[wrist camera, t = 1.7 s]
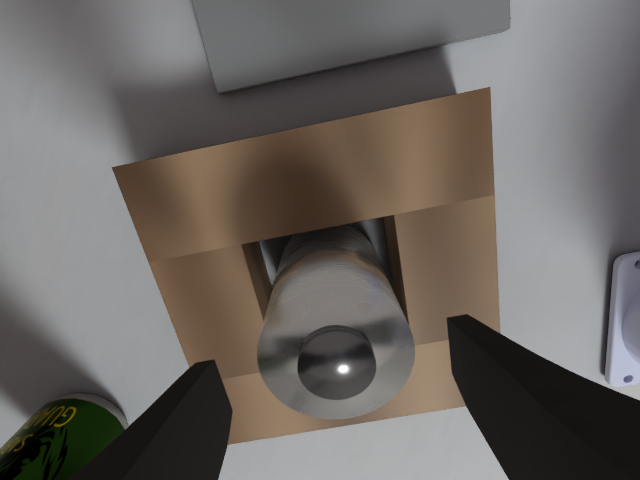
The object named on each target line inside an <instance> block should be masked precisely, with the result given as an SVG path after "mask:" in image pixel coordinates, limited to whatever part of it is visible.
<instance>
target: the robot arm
mask: <svg viewBox="0 0 640 480" xmlns="http://www.w3.org/2000/svg"><path fill="white" fill-rule="evenodd" d="M637 261H638V263H637V264H636V265H635V263H636V262H637ZM447 328H448V339H449V349H450V360H451V370H452V375H453V377H454V380H455V382H456V384H457V387H458V389H459V391H460V393H461V396H462V398H463V400H464V402H465V405H466V406H467V408H468V410H469V412H470V414H471V415H472V417H473V419H474V420H475V422H476V424H477V426H478V427H479V429H480V431H481V433H482V434H483V436H484V438H485V439H486V441H487V443H488V444H489V446H490V448H491V450H492V451H493V453H494V455H495V456H496V458H497V460H498V462H499V463H500V465H501V467H502V468H503V470H504V472H505V473H506V475H507V477H508V479H509V480H640V401H639V400H637V399H634V398H632V397H629V396H627V395H624V394H621V393H619V392H616V391H614V390H612V389H609V388H607V387H605V386H602V385H600V384H598V383H595V382H593V381H591V380H588V379H586V378H584V377H582V376H579V375H577V374H575V373H573V372H571V371H569V370H567V369H565V368H563V367H561V366H559V365H557V364H555V363H553V362H551V361H549V360H547V359H545V358H543V357H541V356H539V355H537V354H535V353H533V352H532V351H530V350H528V349H526V348H524V347H522V346H521V345H519V344H517V343H515V342H514V341H512V340H510V339H508V338H507V337H505V336H503V335H502V334H500V333H498V332H497V331H495V330H493V329H492V328H490V327H488V326H487V325H485V324H483V323H482V322H480V321H478V320H477V319H475V318H473V317H471V316H470V315H468V314H464V315H459V316H453V317H447ZM605 381H606V382H607V383H608V384H610V385H611V386H613V387H621V386H628V385H634V384H640V251H639V252H634V253H628V254H624V255H621V256H619V257H618V258H617V259H616V260H615V261H614V265H613V276H612V289H611V302H610V315H609V328H608V341H607V355H606V368H605ZM232 413H233V409H232V407H231V404H230V401H229V398H228V396H227V393H226V390H225V387H224V384H223V382H222V379H221V376H220V373H219V370H218V368H217V365H216V362H215V359H213V360H207V361H202V362H196V363H195V364H194V365H192V366H191V367H190V368H189V369H188V370H187V371H186V372H185V373H184V374H183V375H182V376H180V377H179V378H178V379H177V380H176V381H175V382H174V383H173V384H172V385H171V386H170V387H169V388H168V389H167V390H166V391H165V392H164V393H163V394H162V395H161V396H160V397H159V398H158V399H157V400H156V401H155V402H154V403H153V404H152V405H151V406H150V407H149V408H148V409H147V410H146V411H145V412H144V413H143V414H142V415H141V416H140V417H139V418H137V419H136V420H135V421H134V422H133V423H132V424H131V425H130V426H129V427H128V428H127V429H126V430H124V431H123V432H122V433H121V434H120V435H119V436H118V437H117V438H116V439H115V440H114V441H112V442H111V443H110V444H109V445H108V446H107V447H106V448H105V449H103V450H102V451H101V452H100V453H99V454H98V455H96V456H95V457H94V458H93V459H92V460H90V461H89V462H88V463H87V464H85V465H84V466H83V467H82V468H80V469H79V470H78V471H77V472H76V473H74V474H73V475H72V476H71V477H69V478H68V479H67V480H218V478H219V474H220V471H221V467H222V463H223V460H224V456H225V453H226V449H227V445H228V440H229V434H230V427H231V420H232Z"/></svg>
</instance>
